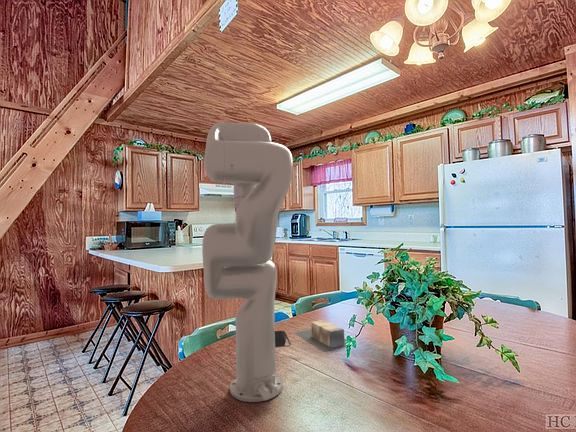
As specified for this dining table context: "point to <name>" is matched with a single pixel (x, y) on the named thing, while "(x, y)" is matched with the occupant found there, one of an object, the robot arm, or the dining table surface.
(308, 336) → the rubber mat
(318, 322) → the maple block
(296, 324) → the dining table surface
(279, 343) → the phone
